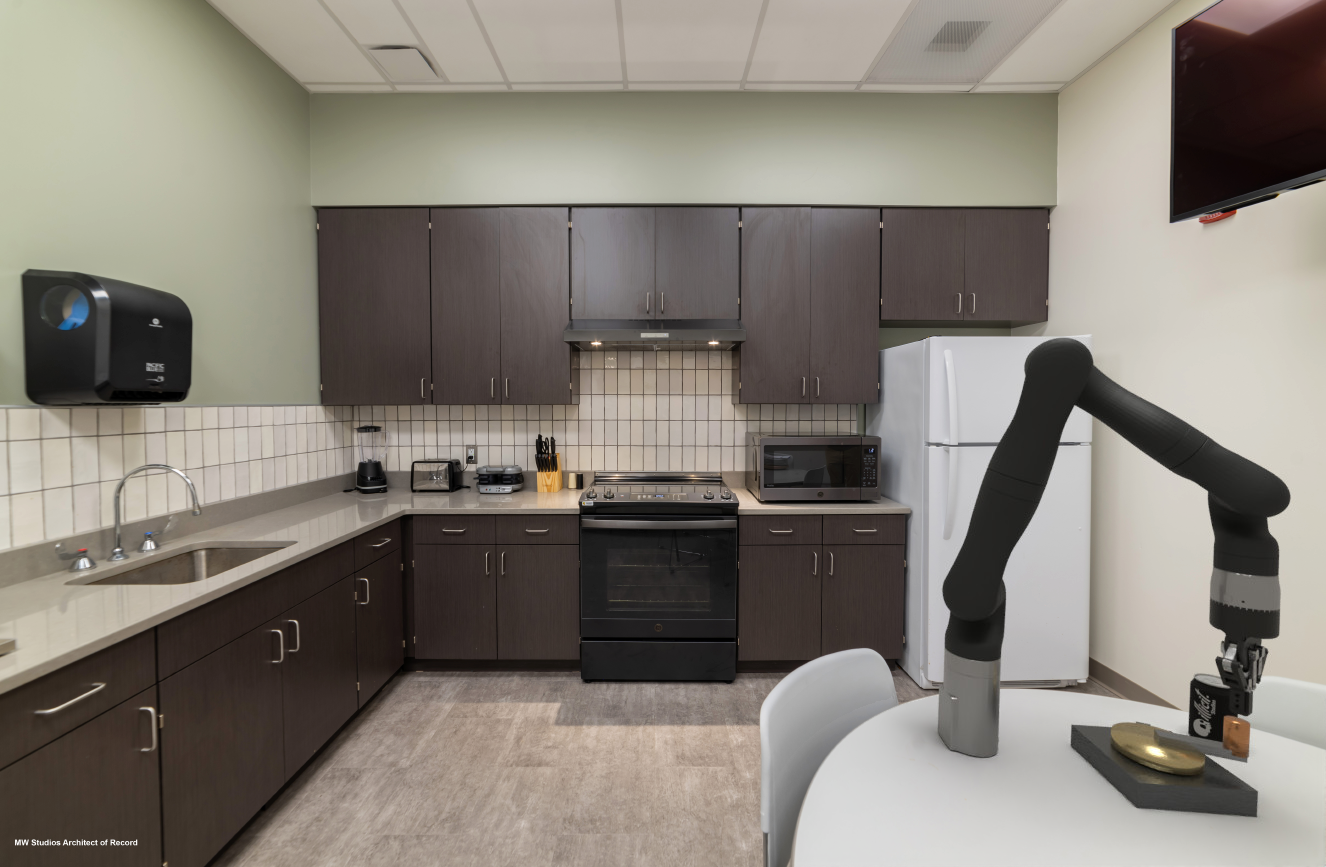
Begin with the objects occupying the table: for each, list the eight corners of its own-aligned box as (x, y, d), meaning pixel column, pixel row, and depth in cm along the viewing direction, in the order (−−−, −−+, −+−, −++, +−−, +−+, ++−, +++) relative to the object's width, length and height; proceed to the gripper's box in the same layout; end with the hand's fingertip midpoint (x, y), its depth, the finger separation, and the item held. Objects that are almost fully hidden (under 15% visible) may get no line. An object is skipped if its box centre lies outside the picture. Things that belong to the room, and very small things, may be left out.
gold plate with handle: (1121, 762, 94) (1123, 714, 94) (1101, 724, 106) (1102, 681, 105) (1266, 794, 86) (1269, 741, 86) (1227, 749, 98) (1229, 703, 98)
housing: (1136, 807, 89) (1138, 781, 89) (1070, 745, 106) (1071, 723, 106) (1256, 816, 88) (1258, 789, 88) (1169, 752, 105) (1170, 729, 104)
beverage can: (1241, 757, 103) (1244, 691, 103) (1192, 745, 107) (1195, 682, 107) (1230, 740, 109) (1232, 677, 109) (1184, 729, 113) (1186, 669, 112)
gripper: (1262, 614, 81) (1259, 736, 81) (1294, 600, 87) (1290, 713, 88) (1193, 599, 87) (1190, 712, 88) (1227, 588, 94) (1224, 693, 94)
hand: (1240, 712), depth 88 cm, fingers closed
